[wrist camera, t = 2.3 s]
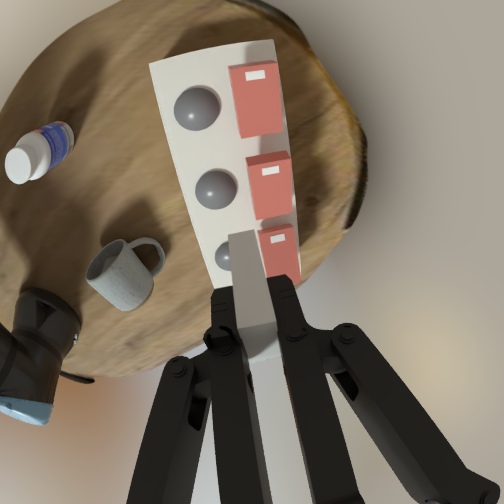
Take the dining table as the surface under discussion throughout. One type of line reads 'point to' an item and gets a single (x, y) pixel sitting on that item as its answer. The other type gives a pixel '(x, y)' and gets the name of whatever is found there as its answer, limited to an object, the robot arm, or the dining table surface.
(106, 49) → the dining table surface
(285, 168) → the block
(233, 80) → the block
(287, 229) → the block
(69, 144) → the pill bottle
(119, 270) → the ceramic mug
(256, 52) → the switch panel
